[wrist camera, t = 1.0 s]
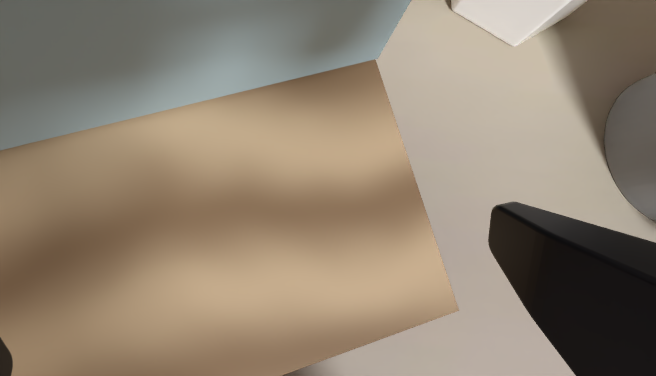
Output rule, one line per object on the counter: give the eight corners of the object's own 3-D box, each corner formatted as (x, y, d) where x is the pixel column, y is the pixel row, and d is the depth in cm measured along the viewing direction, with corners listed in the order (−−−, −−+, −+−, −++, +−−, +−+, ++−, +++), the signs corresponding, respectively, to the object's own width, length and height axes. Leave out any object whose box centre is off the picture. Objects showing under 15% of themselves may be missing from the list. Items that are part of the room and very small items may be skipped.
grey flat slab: (377, 58, 20) (487, -134, 10) (-57, 164, 16) (-533, 37, 7) (364, 18, 20) (459, -209, 10) (-68, 115, 17) (-546, -78, 7)
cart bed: (419, 298, 24) (458, 310, 19) (77, 419, 21) (18, 472, 16) (348, 79, 25) (367, 37, 20) (15, 162, 22) (-58, 136, 17)
